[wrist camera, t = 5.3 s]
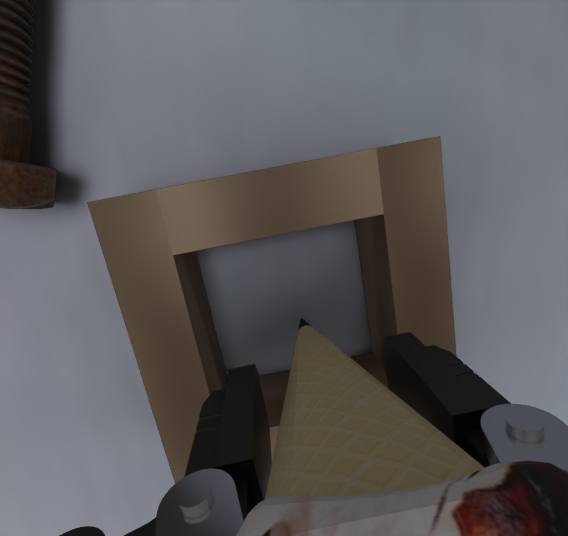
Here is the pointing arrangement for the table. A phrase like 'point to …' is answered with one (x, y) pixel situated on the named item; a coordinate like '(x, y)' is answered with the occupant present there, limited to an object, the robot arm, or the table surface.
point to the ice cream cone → (387, 465)
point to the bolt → (19, 114)
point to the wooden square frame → (263, 223)
